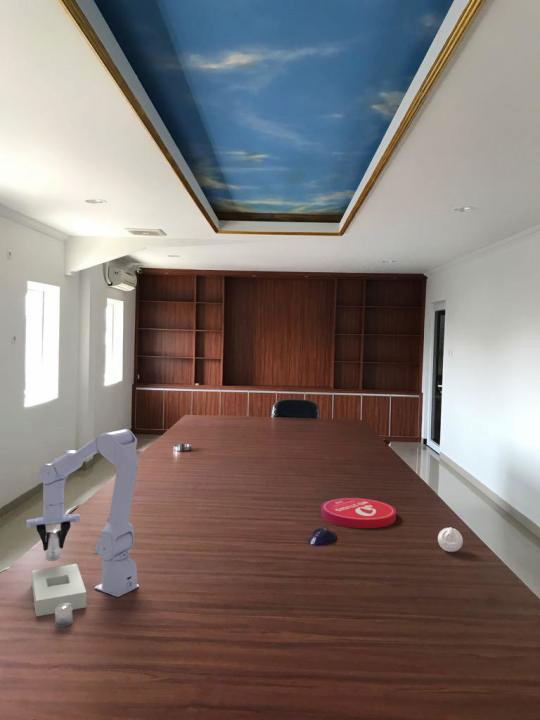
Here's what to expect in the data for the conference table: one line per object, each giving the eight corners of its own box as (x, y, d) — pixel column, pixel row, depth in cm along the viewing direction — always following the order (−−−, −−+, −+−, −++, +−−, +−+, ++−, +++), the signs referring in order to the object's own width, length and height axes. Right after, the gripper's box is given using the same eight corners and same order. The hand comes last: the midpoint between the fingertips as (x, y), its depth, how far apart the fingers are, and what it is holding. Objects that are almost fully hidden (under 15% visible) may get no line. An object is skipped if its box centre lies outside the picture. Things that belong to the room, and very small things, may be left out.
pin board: (86, 607, 141) (86, 592, 141) (35, 616, 136) (35, 600, 136) (76, 577, 159) (76, 563, 159) (31, 584, 154) (32, 570, 154)
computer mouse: (298, 542, 192) (298, 531, 192) (322, 531, 203) (322, 521, 203) (319, 549, 186) (320, 537, 186) (343, 537, 197) (343, 527, 197)
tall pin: (63, 557, 162) (63, 530, 162) (51, 561, 159) (51, 534, 159) (54, 554, 164) (54, 528, 164) (43, 558, 161) (43, 532, 161)
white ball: (437, 553, 183) (437, 530, 183) (438, 545, 190) (438, 523, 190) (462, 556, 181) (462, 533, 180) (462, 548, 188) (463, 526, 188)
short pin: (76, 621, 134) (75, 605, 134) (61, 628, 130) (61, 612, 130) (65, 617, 136) (65, 601, 136) (51, 624, 133) (51, 607, 132)
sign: (306, 514, 224) (363, 534, 201) (306, 506, 224) (363, 525, 201) (353, 502, 244) (410, 518, 221) (353, 494, 244) (410, 510, 221)
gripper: (77, 496, 168) (77, 540, 168) (26, 502, 162) (26, 547, 162) (80, 502, 162) (80, 548, 162) (27, 508, 155) (27, 555, 156)
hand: (53, 548), depth 162 cm, fingers closed on tall pin, 4 cm apart
